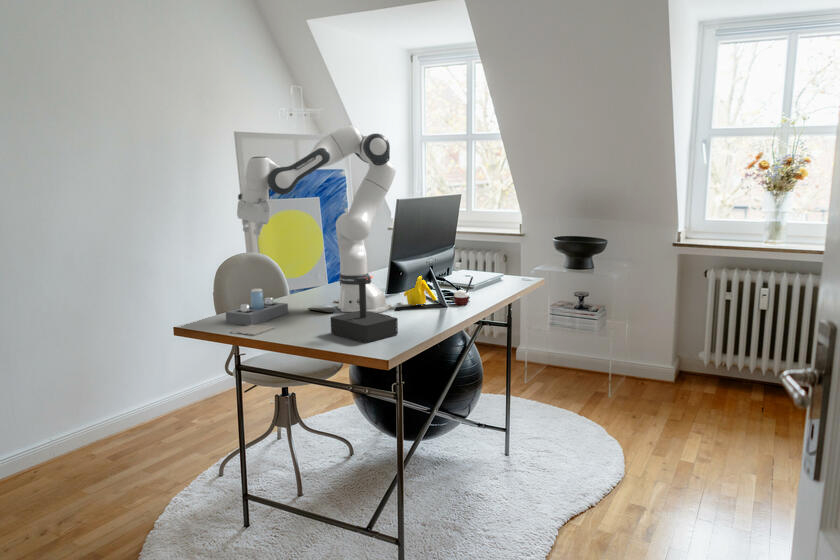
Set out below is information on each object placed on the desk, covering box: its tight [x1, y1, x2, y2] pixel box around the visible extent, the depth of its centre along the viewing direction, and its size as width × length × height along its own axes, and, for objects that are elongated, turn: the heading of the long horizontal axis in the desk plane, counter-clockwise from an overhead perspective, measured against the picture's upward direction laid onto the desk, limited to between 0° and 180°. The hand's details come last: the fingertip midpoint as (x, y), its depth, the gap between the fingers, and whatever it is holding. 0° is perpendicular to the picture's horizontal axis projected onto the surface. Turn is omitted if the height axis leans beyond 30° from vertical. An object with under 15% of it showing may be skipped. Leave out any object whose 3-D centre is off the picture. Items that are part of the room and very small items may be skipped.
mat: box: [229, 324, 276, 336], centre depth 226 cm, size 11×11×1 cm
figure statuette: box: [403, 275, 437, 306], centre depth 264 cm, size 18×8×22 cm, turn 50°
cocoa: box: [450, 276, 474, 306], centre depth 264 cm, size 10×6×12 cm, turn 48°
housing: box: [225, 300, 289, 326], centre depth 246 cm, size 22×12×4 cm, turn 154°
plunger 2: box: [264, 297, 274, 306], centre depth 252 cm, size 3×3×4 cm
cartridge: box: [250, 288, 264, 310], centre depth 246 cm, size 5×5×11 cm
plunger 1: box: [240, 303, 250, 313], centre depth 240 cm, size 3×3×4 cm
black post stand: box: [330, 277, 399, 344], centre depth 218 cm, size 19×17×20 cm
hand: (250, 233), depth 247 cm, fingers open, 8 cm apart
